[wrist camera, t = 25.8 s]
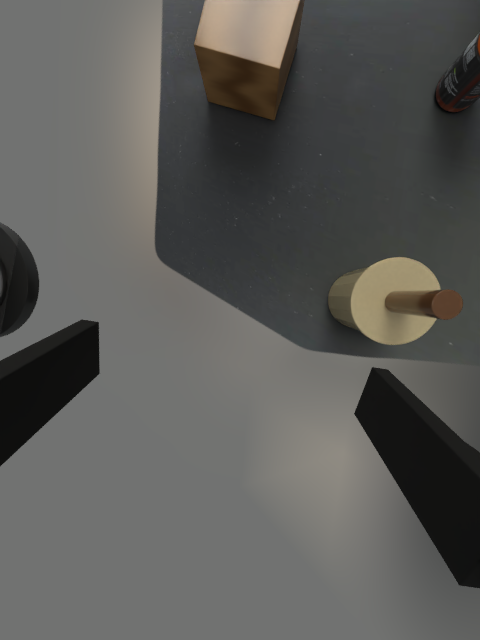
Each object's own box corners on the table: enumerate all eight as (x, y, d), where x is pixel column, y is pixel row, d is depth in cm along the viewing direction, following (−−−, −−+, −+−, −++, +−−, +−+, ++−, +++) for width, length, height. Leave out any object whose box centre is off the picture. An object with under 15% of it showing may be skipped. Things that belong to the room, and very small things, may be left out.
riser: (207, 101, 39) (193, 44, 30) (228, 26, 38) (219, -57, 29) (274, 120, 39) (279, 69, 30) (297, 45, 37) (309, -33, 29)
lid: (331, 301, 30) (360, 304, 22) (397, 239, 29) (455, 216, 21) (389, 361, 31) (439, 386, 22) (457, 302, 29) (538, 305, 21)
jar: (320, 317, 41) (343, 325, 31) (339, 264, 40) (369, 252, 29) (373, 334, 41) (415, 348, 30) (393, 280, 40) (445, 275, 29)
